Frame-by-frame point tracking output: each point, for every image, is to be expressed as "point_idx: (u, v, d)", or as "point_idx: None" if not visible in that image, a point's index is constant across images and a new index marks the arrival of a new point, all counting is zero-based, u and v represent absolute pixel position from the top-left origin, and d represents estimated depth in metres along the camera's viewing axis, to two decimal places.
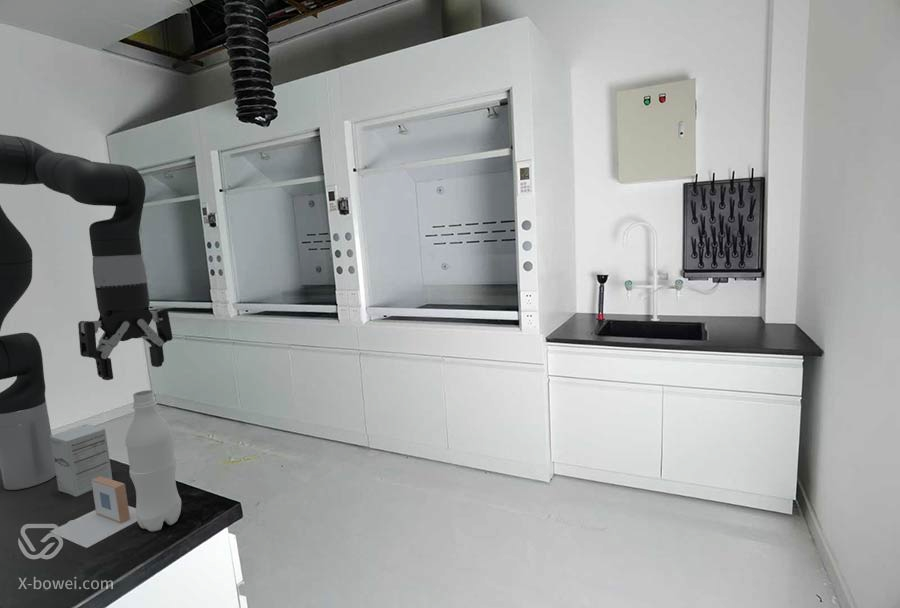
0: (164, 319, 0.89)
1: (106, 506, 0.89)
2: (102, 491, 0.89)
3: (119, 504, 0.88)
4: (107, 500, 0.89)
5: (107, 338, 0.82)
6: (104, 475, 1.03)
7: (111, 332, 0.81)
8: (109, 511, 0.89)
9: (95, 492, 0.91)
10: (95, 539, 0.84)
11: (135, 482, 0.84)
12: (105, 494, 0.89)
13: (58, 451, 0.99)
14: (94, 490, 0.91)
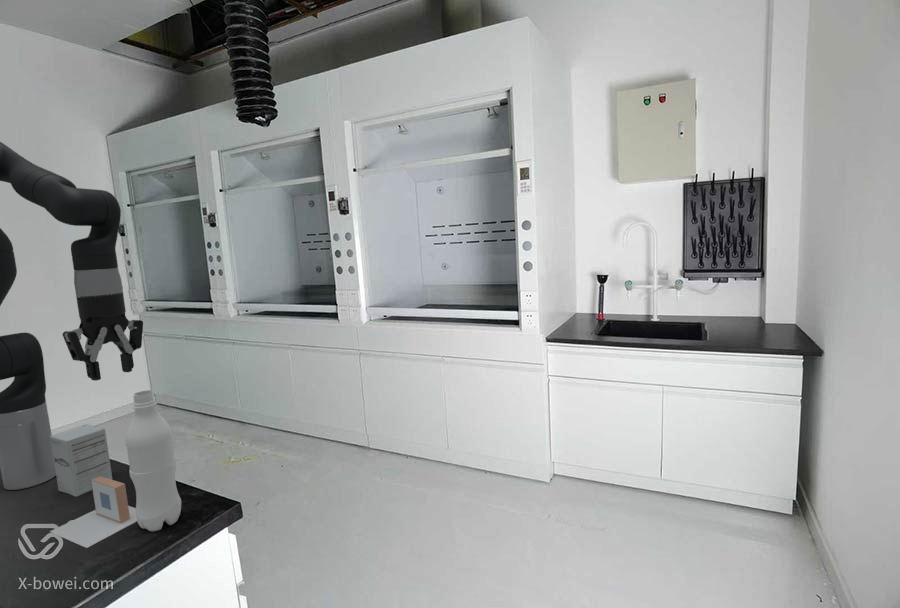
0: (138, 328, 1.00)
1: (106, 506, 0.89)
2: (102, 491, 0.89)
3: (119, 504, 0.88)
4: (107, 500, 0.89)
5: (91, 343, 0.94)
6: (104, 475, 1.03)
7: (93, 338, 0.93)
8: (109, 511, 0.89)
9: (95, 492, 0.91)
10: (95, 539, 0.84)
11: (135, 482, 0.84)
12: (105, 494, 0.89)
13: (58, 451, 0.99)
14: (94, 490, 0.91)
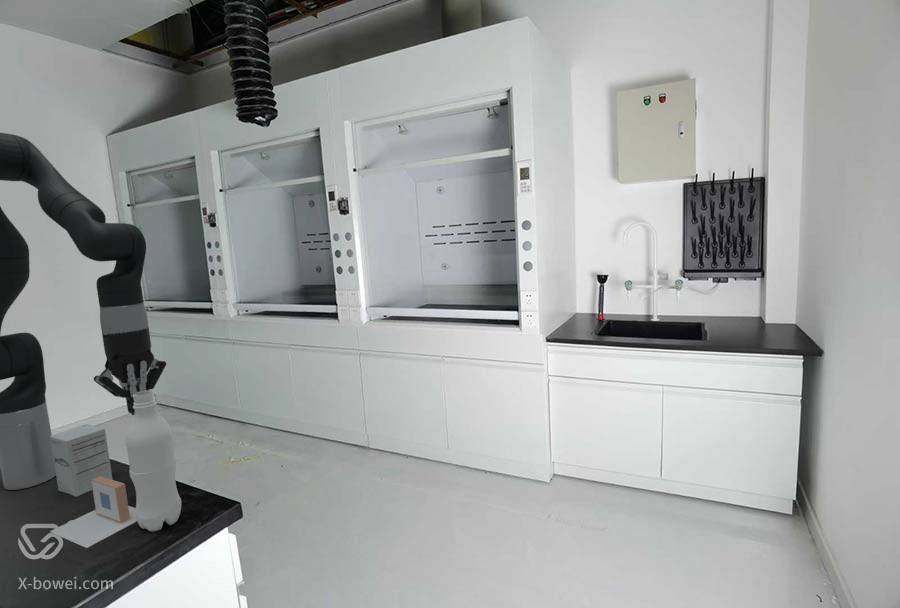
0: (159, 369, 0.97)
1: (106, 506, 0.89)
2: (102, 491, 0.89)
3: (119, 504, 0.88)
4: (107, 500, 0.89)
5: None
6: (104, 475, 1.03)
7: (124, 377, 0.91)
8: (109, 511, 0.89)
9: (95, 492, 0.91)
10: (95, 539, 0.84)
11: (135, 482, 0.84)
12: (105, 494, 0.89)
13: (58, 451, 0.99)
14: (94, 490, 0.91)
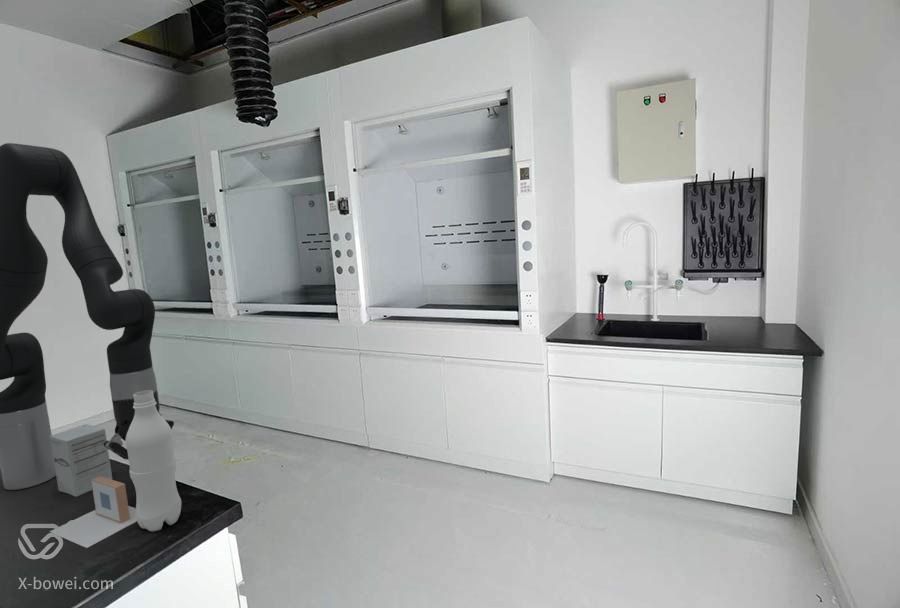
0: None
1: (106, 506, 0.89)
2: (102, 491, 0.89)
3: (119, 504, 0.88)
4: (107, 500, 0.89)
5: None
6: (104, 475, 1.03)
7: None
8: (109, 511, 0.89)
9: (95, 492, 0.91)
10: (95, 539, 0.84)
11: (135, 482, 0.84)
12: (105, 494, 0.89)
13: (58, 451, 0.99)
14: (94, 490, 0.91)
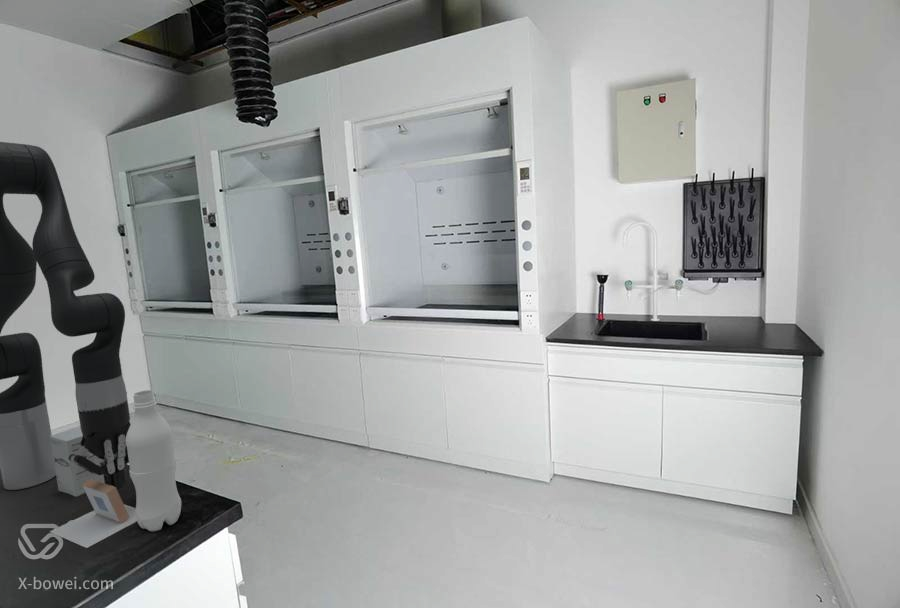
0: None
1: (103, 508, 0.89)
2: (95, 495, 0.88)
3: (115, 507, 0.87)
4: (102, 503, 0.88)
5: None
6: None
7: None
8: (107, 512, 0.89)
9: (89, 495, 0.90)
10: (95, 539, 0.84)
11: (135, 482, 0.84)
12: (99, 498, 0.88)
13: (58, 451, 0.99)
14: (88, 494, 0.90)
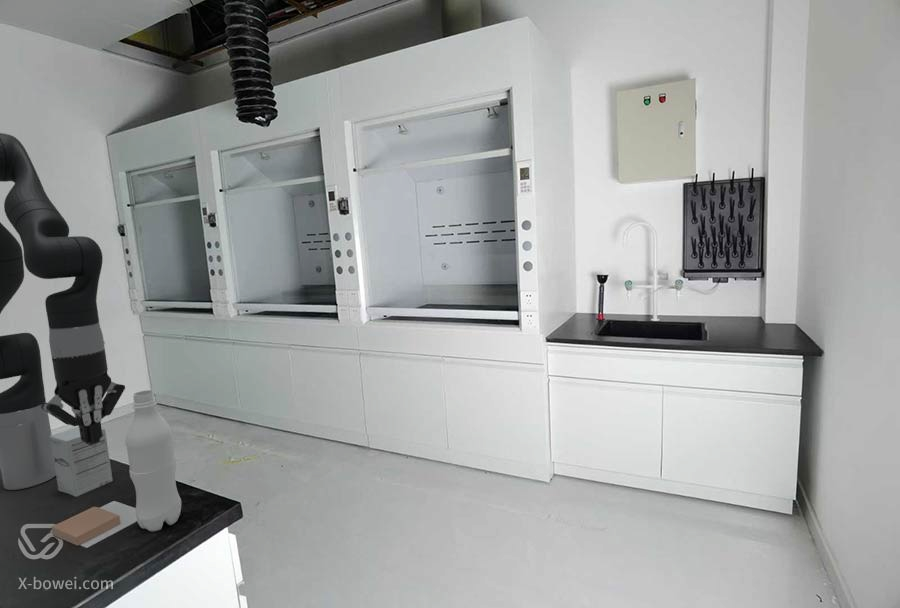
0: (117, 393, 0.90)
1: None
2: None
3: (99, 533, 0.85)
4: None
5: None
6: (104, 475, 1.03)
7: (76, 404, 0.84)
8: None
9: None
10: (95, 539, 0.84)
11: (135, 482, 0.84)
12: None
13: (58, 451, 0.99)
14: None
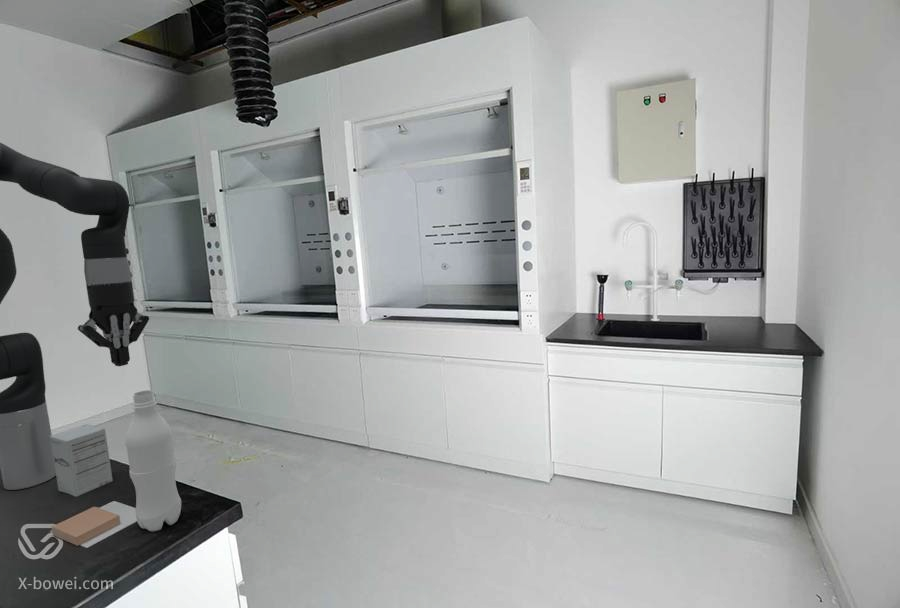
0: (142, 322, 1.01)
1: None
2: None
3: (99, 533, 0.85)
4: None
5: None
6: (104, 475, 1.03)
7: (107, 328, 0.95)
8: None
9: None
10: (95, 539, 0.84)
11: (135, 482, 0.84)
12: None
13: (58, 451, 0.99)
14: None
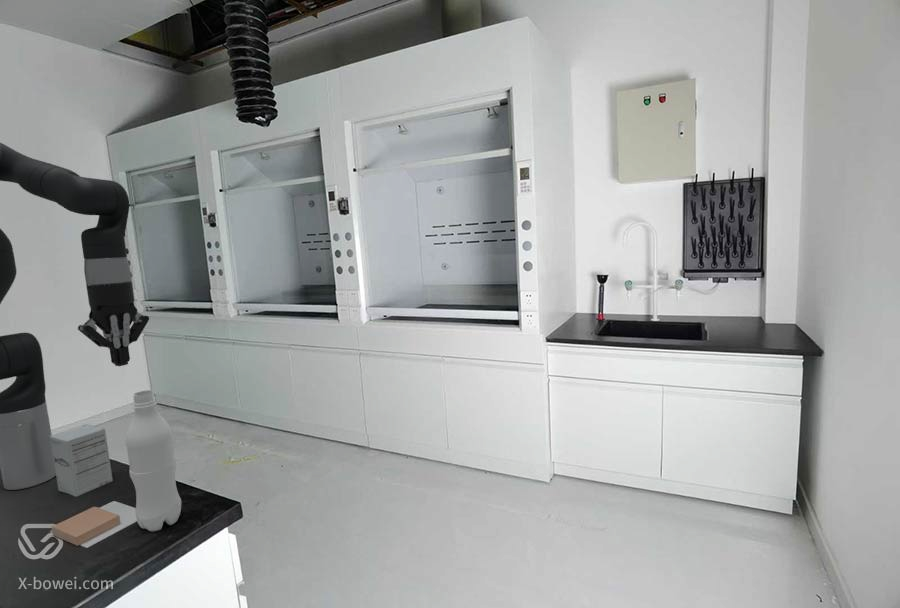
0: (142, 322, 1.01)
1: None
2: None
3: (99, 533, 0.85)
4: None
5: None
6: (104, 475, 1.03)
7: (107, 328, 0.95)
8: None
9: None
10: (95, 539, 0.84)
11: (135, 482, 0.84)
12: None
13: (58, 451, 0.99)
14: None
